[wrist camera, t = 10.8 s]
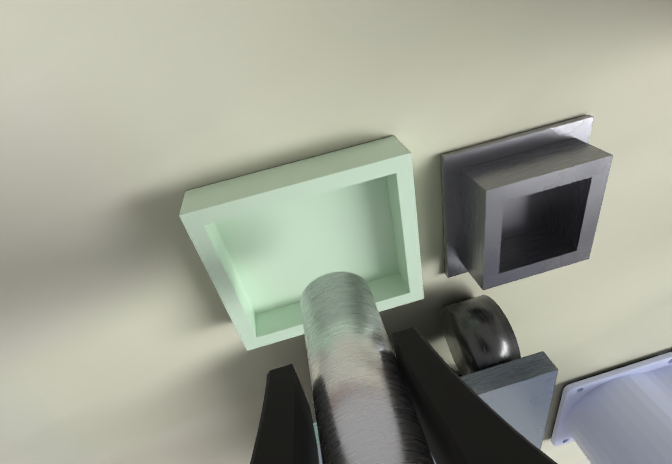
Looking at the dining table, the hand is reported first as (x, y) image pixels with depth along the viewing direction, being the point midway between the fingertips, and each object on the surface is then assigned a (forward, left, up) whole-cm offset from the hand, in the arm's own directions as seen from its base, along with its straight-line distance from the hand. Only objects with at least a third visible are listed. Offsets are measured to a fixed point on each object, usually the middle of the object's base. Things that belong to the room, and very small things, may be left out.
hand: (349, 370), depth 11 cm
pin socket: (-9, +1, -7) cm, 11 cm away
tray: (0, 0, -7) cm, 7 cm away
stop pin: (0, 0, -3) cm, 3 cm away
